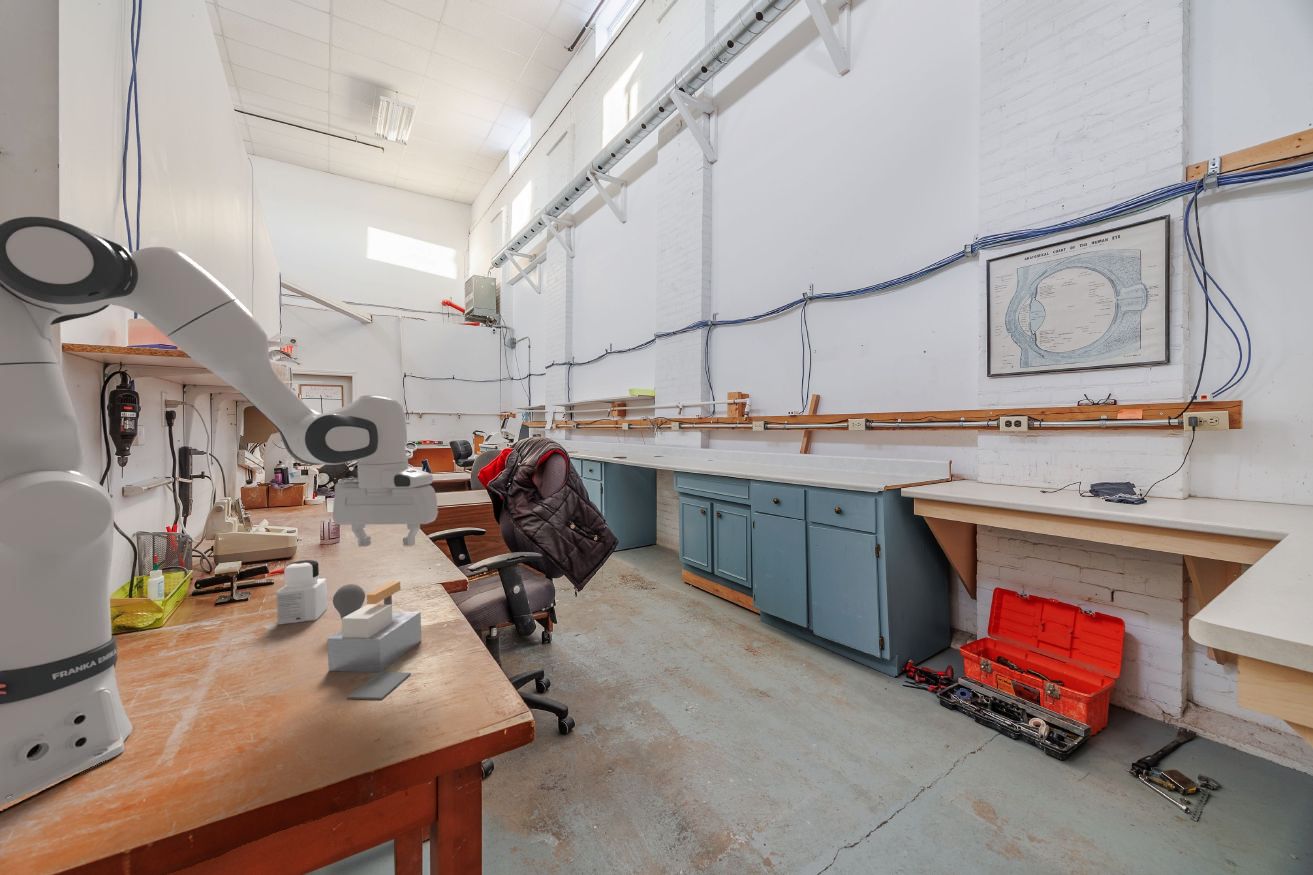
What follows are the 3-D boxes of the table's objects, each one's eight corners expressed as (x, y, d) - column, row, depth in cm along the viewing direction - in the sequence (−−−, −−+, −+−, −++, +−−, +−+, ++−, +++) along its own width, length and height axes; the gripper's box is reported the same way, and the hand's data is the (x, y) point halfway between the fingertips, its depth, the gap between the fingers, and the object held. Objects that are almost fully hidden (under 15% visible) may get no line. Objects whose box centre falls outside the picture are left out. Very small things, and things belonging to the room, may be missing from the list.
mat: (381, 699, 79) (381, 697, 79) (347, 698, 79) (346, 696, 79) (410, 674, 87) (410, 672, 87) (378, 673, 87) (378, 671, 87)
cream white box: (368, 637, 88) (367, 618, 88) (342, 637, 89) (341, 618, 89) (392, 622, 95) (391, 604, 95) (368, 621, 96) (367, 604, 96)
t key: (375, 627, 93) (374, 594, 93) (367, 627, 93) (366, 594, 93) (401, 611, 101) (400, 581, 101) (393, 611, 101) (392, 581, 101)
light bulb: (372, 624, 109) (370, 580, 109) (353, 636, 103) (351, 589, 103) (347, 624, 110) (346, 580, 110) (327, 635, 104) (325, 589, 104)
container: (291, 612, 118) (289, 559, 117) (328, 608, 120) (326, 556, 120) (276, 625, 110) (274, 568, 110) (316, 620, 113) (314, 564, 112)
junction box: (380, 672, 88) (379, 639, 88) (328, 670, 88) (327, 638, 88) (421, 640, 101) (420, 611, 100) (375, 639, 101) (374, 611, 101)
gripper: (323, 480, 95) (326, 550, 95) (423, 478, 93) (425, 549, 94) (346, 476, 101) (349, 542, 102) (440, 474, 100) (442, 541, 100)
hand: (386, 545), depth 98 cm, fingers open, 8 cm apart
